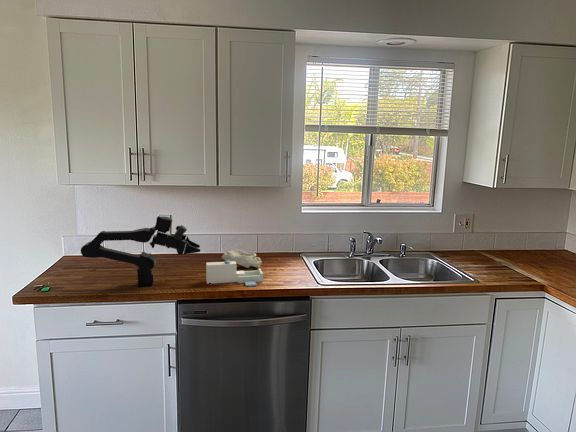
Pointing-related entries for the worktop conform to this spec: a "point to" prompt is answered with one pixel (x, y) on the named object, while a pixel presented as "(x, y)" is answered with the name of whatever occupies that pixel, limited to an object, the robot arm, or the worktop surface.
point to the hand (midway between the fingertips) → (199, 248)
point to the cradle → (251, 278)
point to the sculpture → (242, 258)
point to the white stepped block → (222, 272)
